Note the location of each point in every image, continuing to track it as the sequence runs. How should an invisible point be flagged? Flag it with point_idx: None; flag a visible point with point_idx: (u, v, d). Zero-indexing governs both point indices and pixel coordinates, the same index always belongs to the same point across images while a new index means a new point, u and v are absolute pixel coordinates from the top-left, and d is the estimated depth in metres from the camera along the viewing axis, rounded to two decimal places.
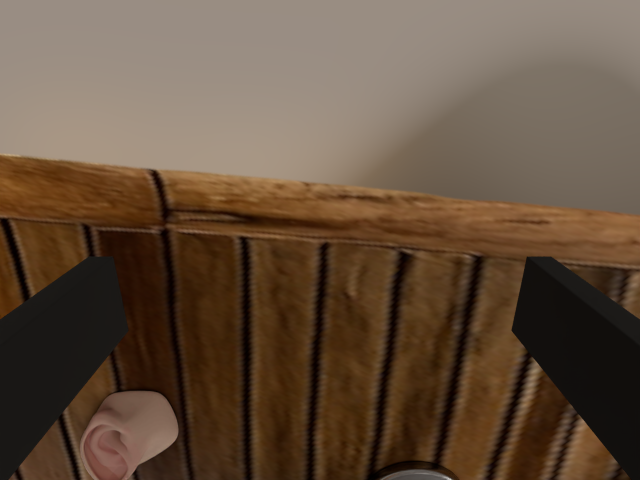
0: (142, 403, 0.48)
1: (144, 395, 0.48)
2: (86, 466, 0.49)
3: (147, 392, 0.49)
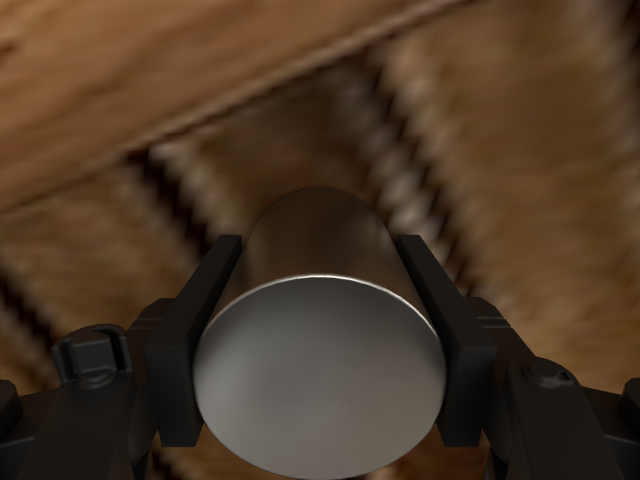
0: None
1: None
2: None
3: None
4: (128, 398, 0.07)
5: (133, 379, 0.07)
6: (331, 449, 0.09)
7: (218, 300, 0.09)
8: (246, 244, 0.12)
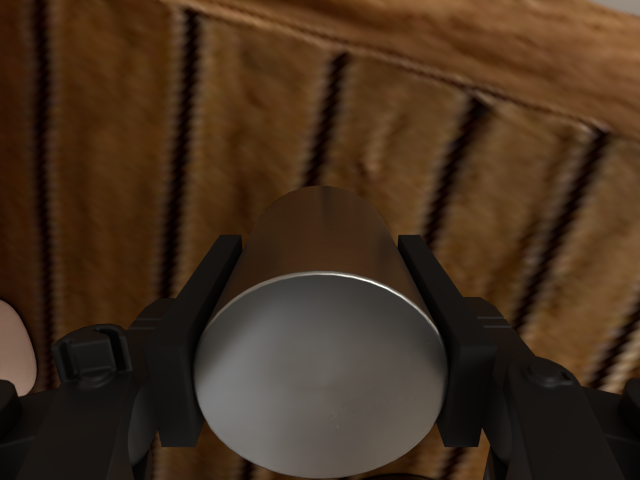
0: None
1: None
2: None
3: None
4: (128, 398, 0.07)
5: (133, 379, 0.07)
6: (332, 447, 0.09)
7: (219, 298, 0.09)
8: (247, 242, 0.12)
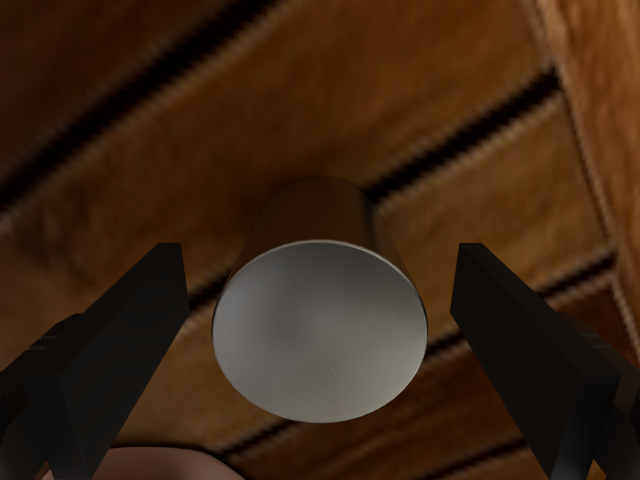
0: None
1: None
2: None
3: None
4: None
5: (2, 406, 0.07)
6: (329, 394, 0.11)
7: None
8: (254, 225, 0.14)
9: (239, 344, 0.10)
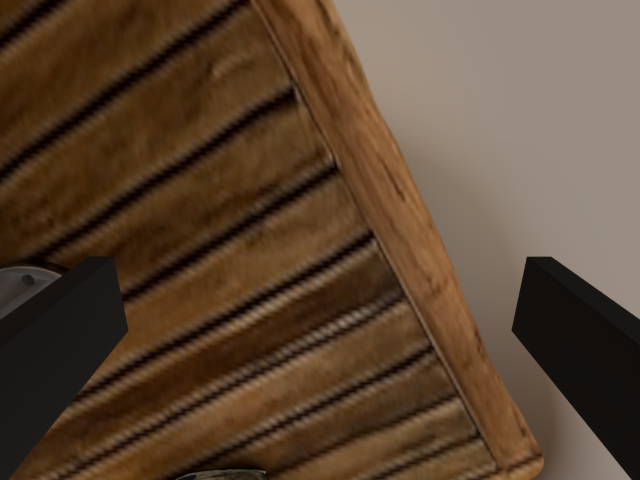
0: None
1: None
2: None
3: None
4: None
5: None
6: None
7: None
8: None
9: None
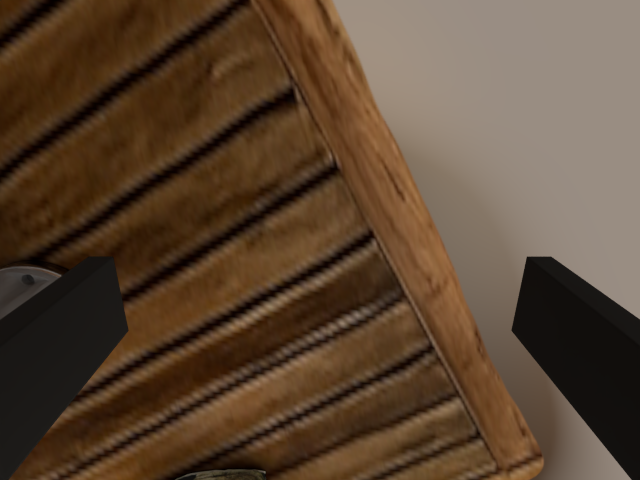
0: None
1: None
2: None
3: None
4: None
5: None
6: None
7: None
8: None
9: None
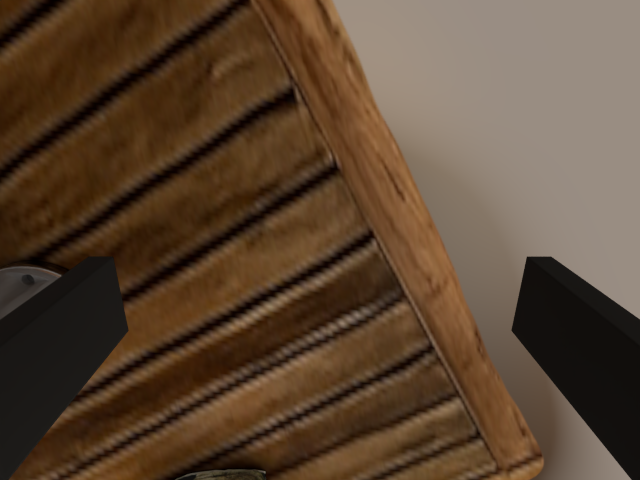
0: None
1: None
2: None
3: None
4: None
5: None
6: None
7: None
8: None
9: None
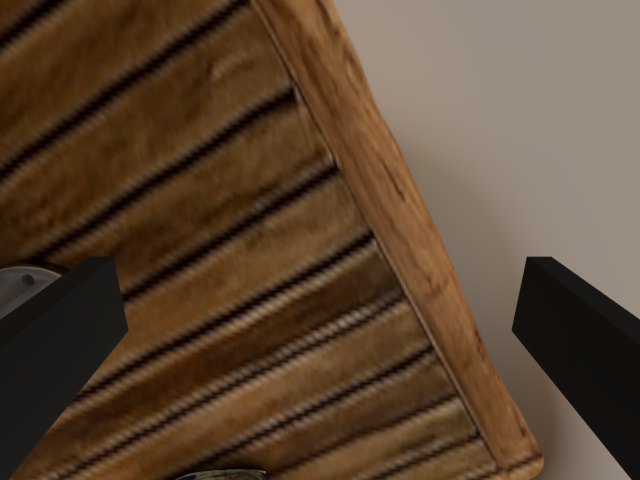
0: None
1: None
2: None
3: None
4: None
5: None
6: None
7: None
8: None
9: None
